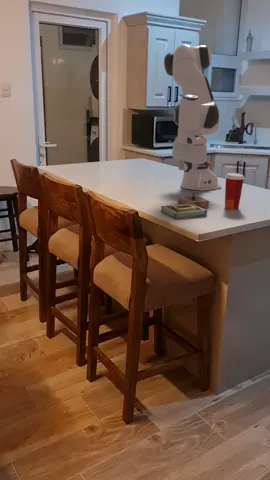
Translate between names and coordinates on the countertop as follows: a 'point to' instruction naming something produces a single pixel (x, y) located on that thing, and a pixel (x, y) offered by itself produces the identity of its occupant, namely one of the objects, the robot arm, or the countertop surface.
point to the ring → (183, 208)
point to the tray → (187, 214)
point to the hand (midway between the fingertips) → (186, 172)
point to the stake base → (194, 201)
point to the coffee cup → (233, 190)
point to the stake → (193, 193)
